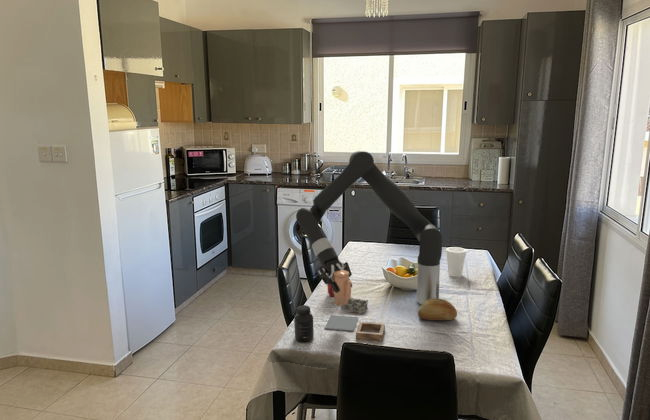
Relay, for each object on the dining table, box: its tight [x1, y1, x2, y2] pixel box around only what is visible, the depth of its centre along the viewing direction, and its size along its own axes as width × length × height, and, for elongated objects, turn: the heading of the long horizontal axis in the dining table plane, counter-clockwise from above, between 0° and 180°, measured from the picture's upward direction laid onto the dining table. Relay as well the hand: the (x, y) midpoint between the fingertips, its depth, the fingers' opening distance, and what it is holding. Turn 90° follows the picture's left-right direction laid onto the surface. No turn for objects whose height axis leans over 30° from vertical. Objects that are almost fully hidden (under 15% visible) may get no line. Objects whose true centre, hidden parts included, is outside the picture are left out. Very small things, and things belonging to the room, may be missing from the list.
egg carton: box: [340, 297, 369, 314], centre depth 197 cm, size 11×8×4 cm
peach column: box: [333, 270, 352, 306], centre depth 180 cm, size 8×6×12 cm
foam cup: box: [445, 246, 467, 278], centre depth 235 cm, size 10×9×13 cm
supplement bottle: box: [293, 304, 315, 344], centre depth 170 cm, size 7×7×12 cm
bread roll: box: [417, 298, 458, 321], centre depth 186 cm, size 10×15×8 cm, turn 85°
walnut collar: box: [355, 321, 386, 342], centre depth 174 cm, size 9×9×2 cm
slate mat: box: [324, 314, 359, 333], centre depth 183 cm, size 11×12×1 cm
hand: (344, 289), depth 179 cm, fingers closed on peach column, 5 cm apart
